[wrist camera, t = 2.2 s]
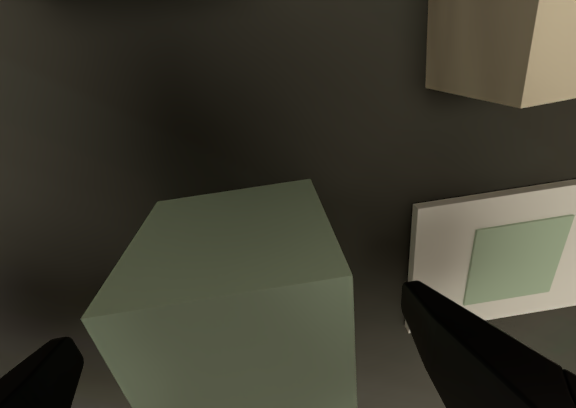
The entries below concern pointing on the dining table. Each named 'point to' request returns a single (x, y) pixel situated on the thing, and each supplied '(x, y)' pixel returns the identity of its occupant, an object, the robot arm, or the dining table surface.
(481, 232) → the card
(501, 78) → the birch block
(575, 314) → the dining table surface
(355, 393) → the sage cube
